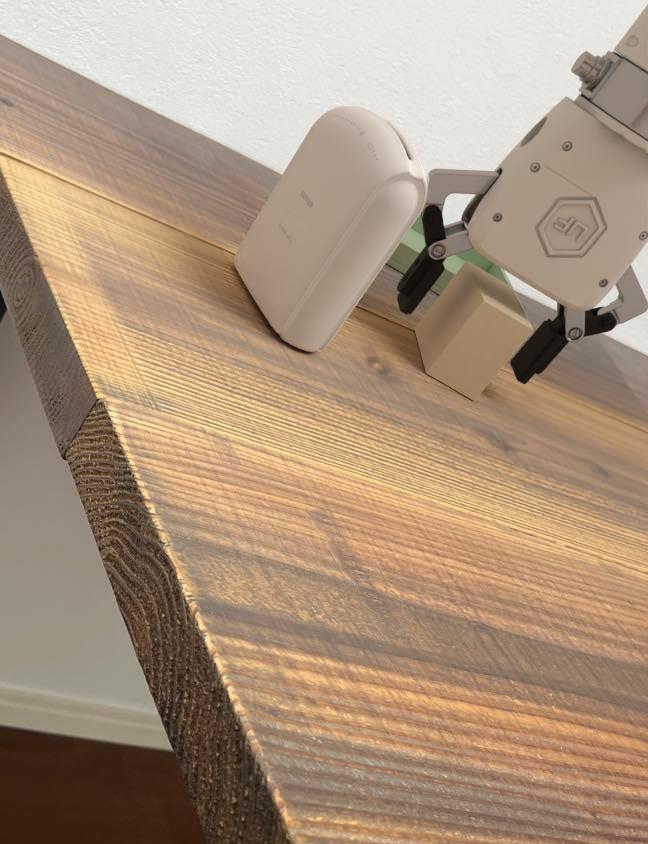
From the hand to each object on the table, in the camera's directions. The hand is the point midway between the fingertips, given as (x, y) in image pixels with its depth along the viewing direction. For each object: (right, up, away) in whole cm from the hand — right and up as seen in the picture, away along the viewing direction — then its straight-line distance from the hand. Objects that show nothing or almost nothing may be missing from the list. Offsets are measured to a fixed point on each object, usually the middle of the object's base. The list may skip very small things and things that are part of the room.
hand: (460, 340), depth 72 cm
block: (-1, -1, +1) cm, 2 cm away
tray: (+5, +11, +21) cm, 24 cm away
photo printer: (-14, 0, -7) cm, 16 cm away
